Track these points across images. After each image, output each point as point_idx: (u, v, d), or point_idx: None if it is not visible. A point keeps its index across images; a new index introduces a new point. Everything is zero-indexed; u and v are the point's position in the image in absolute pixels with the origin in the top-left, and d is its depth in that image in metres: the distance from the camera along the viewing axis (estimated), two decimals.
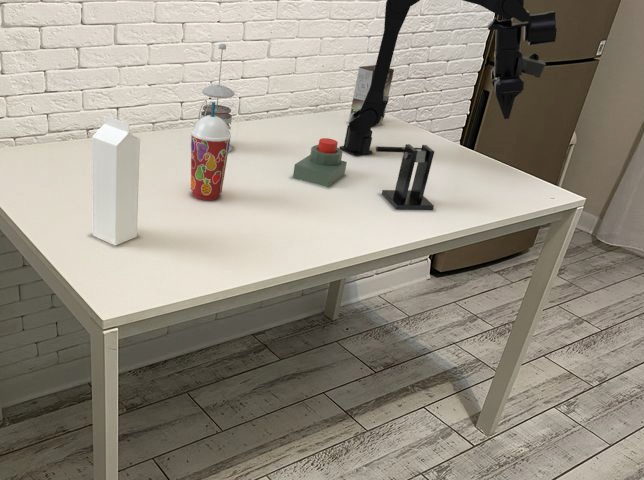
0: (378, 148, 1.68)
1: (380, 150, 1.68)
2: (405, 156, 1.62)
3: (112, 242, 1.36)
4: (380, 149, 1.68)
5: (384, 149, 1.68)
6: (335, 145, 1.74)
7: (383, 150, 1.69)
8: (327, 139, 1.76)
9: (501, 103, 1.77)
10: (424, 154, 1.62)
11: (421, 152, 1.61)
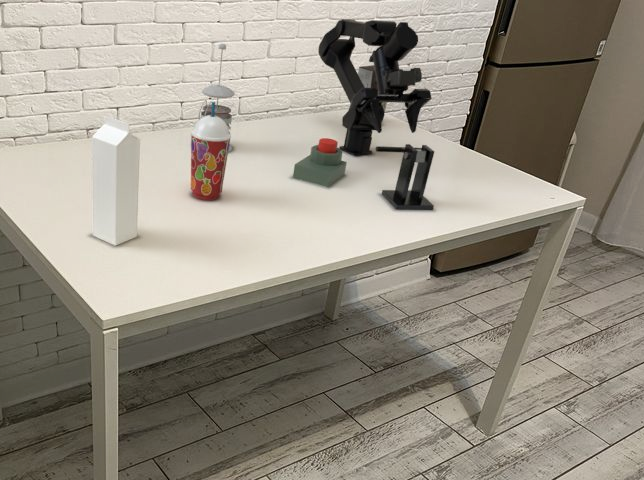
0: (378, 148, 1.68)
1: (380, 150, 1.68)
2: (405, 156, 1.62)
3: (112, 242, 1.36)
4: (380, 149, 1.68)
5: (384, 149, 1.68)
6: (335, 145, 1.74)
7: (383, 150, 1.69)
8: (327, 139, 1.76)
9: (369, 118, 1.77)
10: (424, 154, 1.62)
11: (421, 152, 1.61)
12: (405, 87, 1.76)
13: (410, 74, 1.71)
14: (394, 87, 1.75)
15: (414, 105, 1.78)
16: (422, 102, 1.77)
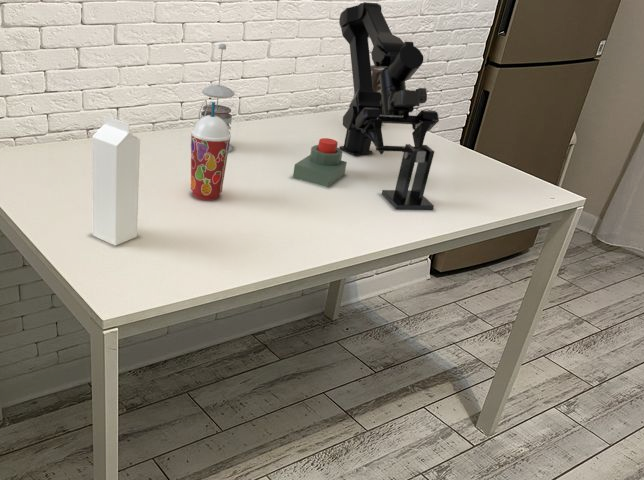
0: (378, 147, 1.68)
1: (380, 149, 1.68)
2: (405, 156, 1.62)
3: (112, 242, 1.36)
4: (380, 148, 1.68)
5: (384, 148, 1.68)
6: (335, 145, 1.74)
7: (383, 149, 1.68)
8: (327, 139, 1.76)
9: (372, 139, 1.72)
10: (424, 154, 1.62)
11: (421, 152, 1.61)
12: (410, 108, 1.70)
13: (414, 94, 1.65)
14: (398, 108, 1.70)
15: (420, 127, 1.72)
16: (428, 124, 1.71)
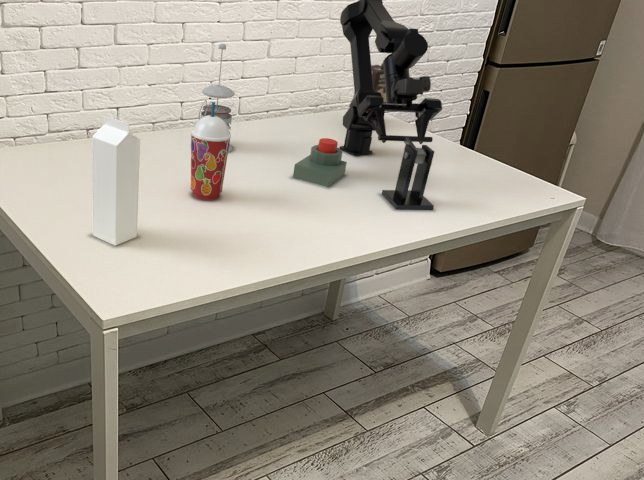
0: (380, 137, 1.67)
1: (382, 139, 1.67)
2: (405, 156, 1.62)
3: (112, 242, 1.36)
4: (382, 138, 1.67)
5: (386, 138, 1.67)
6: (335, 145, 1.74)
7: (385, 139, 1.67)
8: (327, 139, 1.76)
9: (374, 127, 1.70)
10: (424, 156, 1.62)
11: (421, 155, 1.61)
12: (414, 96, 1.68)
13: (417, 83, 1.63)
14: (402, 96, 1.68)
15: (423, 115, 1.70)
16: (432, 112, 1.70)
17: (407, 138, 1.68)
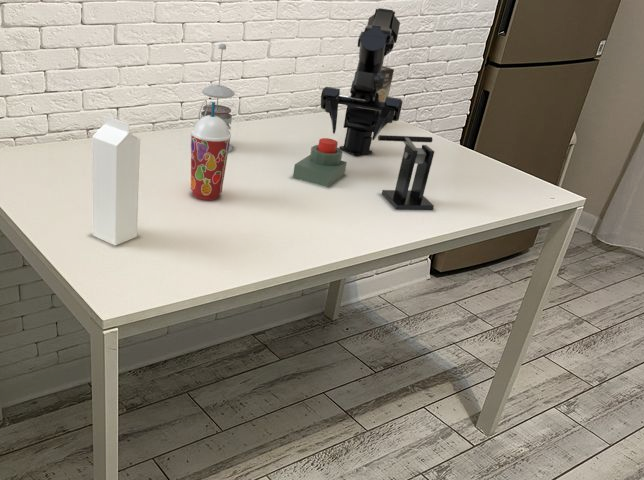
0: (380, 138, 1.67)
1: (382, 139, 1.67)
2: (405, 156, 1.62)
3: (112, 242, 1.36)
4: (382, 139, 1.67)
5: (386, 139, 1.67)
6: (335, 145, 1.74)
7: (385, 139, 1.67)
8: (327, 139, 1.76)
9: (331, 119, 1.75)
10: (424, 156, 1.62)
11: (421, 154, 1.61)
12: (372, 92, 1.70)
13: (367, 76, 1.65)
14: (360, 91, 1.71)
15: None
16: (388, 110, 1.69)
17: (407, 138, 1.68)
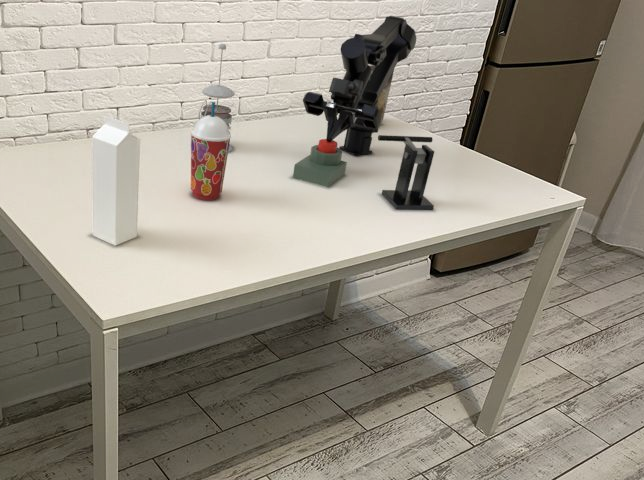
0: (380, 138, 1.67)
1: (382, 139, 1.67)
2: (405, 156, 1.62)
3: (112, 242, 1.36)
4: (382, 139, 1.67)
5: (386, 139, 1.67)
6: (335, 146, 1.74)
7: (385, 139, 1.67)
8: None
9: None
10: (424, 156, 1.62)
11: (421, 154, 1.61)
12: (350, 99, 1.73)
13: (342, 83, 1.69)
14: (340, 97, 1.74)
15: None
16: (345, 113, 1.73)
17: (407, 138, 1.68)
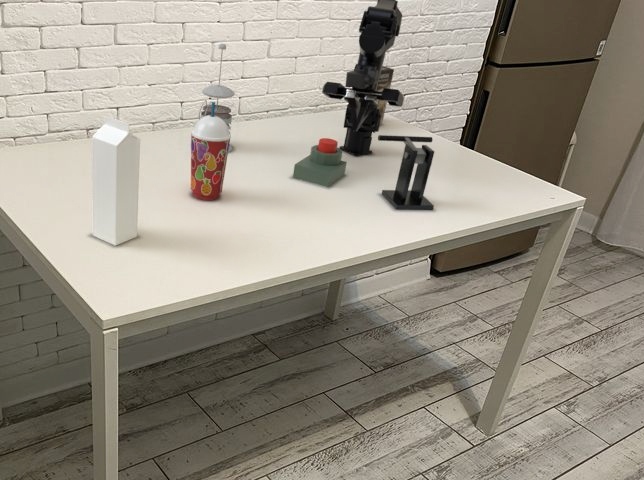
0: (380, 138, 1.67)
1: (382, 139, 1.67)
2: (405, 156, 1.62)
3: (112, 242, 1.36)
4: (382, 139, 1.67)
5: (386, 139, 1.67)
6: (335, 145, 1.74)
7: (385, 139, 1.67)
8: (327, 139, 1.76)
9: None
10: (424, 156, 1.62)
11: (421, 154, 1.61)
12: (369, 86, 1.72)
13: (357, 77, 1.68)
14: None
15: None
16: (366, 102, 1.73)
17: (407, 138, 1.68)
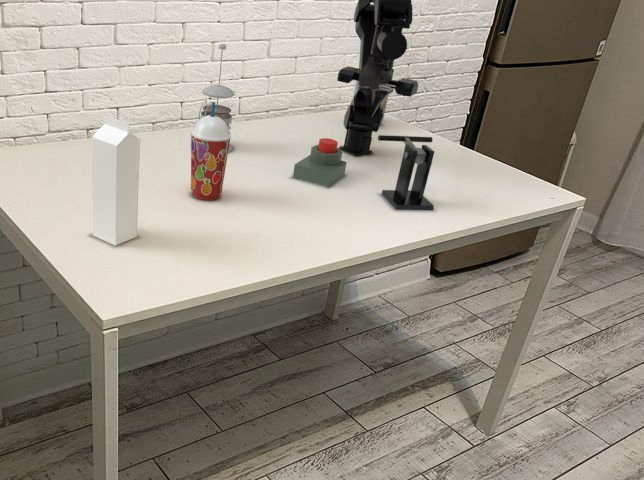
0: (380, 138, 1.67)
1: (382, 139, 1.67)
2: (405, 156, 1.62)
3: (112, 242, 1.36)
4: (382, 139, 1.67)
5: (386, 139, 1.67)
6: (335, 145, 1.74)
7: (385, 139, 1.67)
8: (327, 139, 1.76)
9: None
10: (424, 156, 1.62)
11: (421, 154, 1.61)
12: None
13: (370, 79, 1.70)
14: None
15: None
16: (380, 94, 1.76)
17: (407, 138, 1.68)
